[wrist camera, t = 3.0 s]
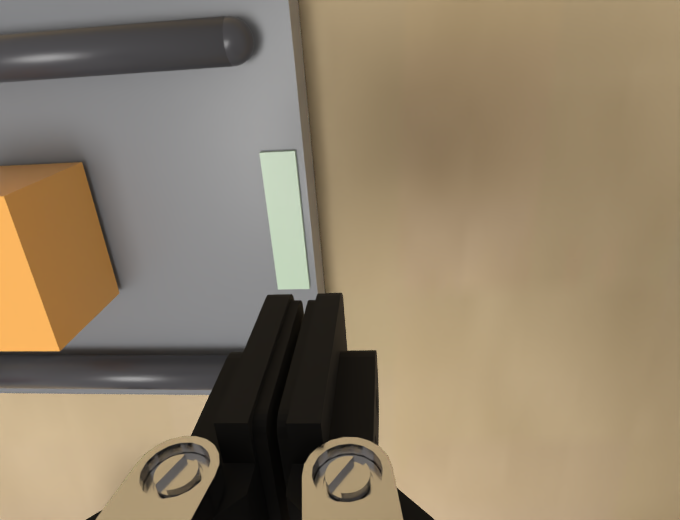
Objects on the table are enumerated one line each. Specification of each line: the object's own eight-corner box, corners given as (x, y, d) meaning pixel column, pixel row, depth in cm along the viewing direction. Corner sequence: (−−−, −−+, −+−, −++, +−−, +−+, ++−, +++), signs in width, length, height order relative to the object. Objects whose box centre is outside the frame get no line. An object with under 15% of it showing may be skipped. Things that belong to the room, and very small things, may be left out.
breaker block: (295, -23, 19) (275, -33, 16) (332, 370, 26) (323, 419, 23) (-213, 23, 21) (-323, 22, 18) (-48, 369, 29) (-104, 412, 26)
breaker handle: (82, 161, 20) (3, 196, 16) (119, 293, 23) (60, 351, 19) (-9, 166, 21) (-107, 200, 17) (38, 294, 23) (-38, 351, 19)
